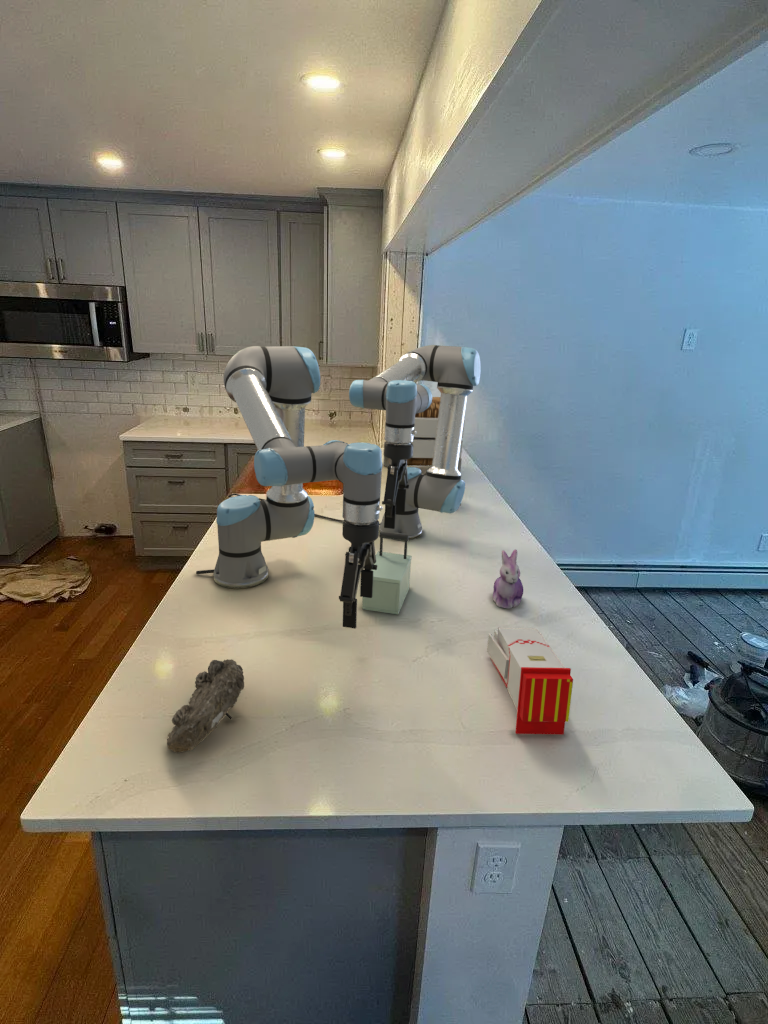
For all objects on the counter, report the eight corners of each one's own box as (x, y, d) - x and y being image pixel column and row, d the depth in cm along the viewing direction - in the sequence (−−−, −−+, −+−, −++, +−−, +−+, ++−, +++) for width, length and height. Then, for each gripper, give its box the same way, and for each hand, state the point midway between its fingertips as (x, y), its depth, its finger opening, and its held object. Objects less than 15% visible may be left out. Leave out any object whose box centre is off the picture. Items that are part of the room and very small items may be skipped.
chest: (375, 583, 163) (377, 555, 160) (409, 588, 161) (410, 560, 158) (362, 609, 149) (363, 578, 146) (398, 614, 147) (400, 584, 144)
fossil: (192, 660, 117) (244, 628, 112) (224, 691, 120) (276, 661, 115) (142, 746, 98) (202, 712, 93) (182, 779, 101) (242, 748, 96)
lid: (377, 554, 161) (378, 528, 158) (411, 559, 159) (413, 532, 156) (363, 578, 146) (364, 550, 143) (400, 584, 144) (401, 555, 141)
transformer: (382, 463, 289) (386, 382, 275) (445, 464, 293) (451, 384, 279) (390, 482, 257) (394, 392, 243) (460, 483, 261) (468, 394, 247)
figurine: (505, 613, 150) (512, 561, 145) (482, 596, 158) (488, 546, 153) (533, 606, 154) (540, 555, 149) (509, 589, 163) (515, 541, 158)
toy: (534, 612, 132) (582, 675, 102) (529, 665, 135) (574, 741, 105) (482, 611, 131) (516, 674, 102) (478, 664, 134) (510, 740, 105)
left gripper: (363, 544, 104) (359, 644, 111) (391, 502, 127) (387, 587, 134) (323, 539, 105) (323, 638, 112) (359, 499, 128) (357, 583, 135)
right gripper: (403, 454, 134) (399, 537, 141) (421, 434, 157) (416, 506, 164) (373, 451, 135) (370, 533, 143) (394, 431, 158) (391, 503, 166)
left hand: (358, 611), depth 123 cm, fingers open, 13 cm apart
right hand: (394, 519), depth 153 cm, fingers open, 13 cm apart
